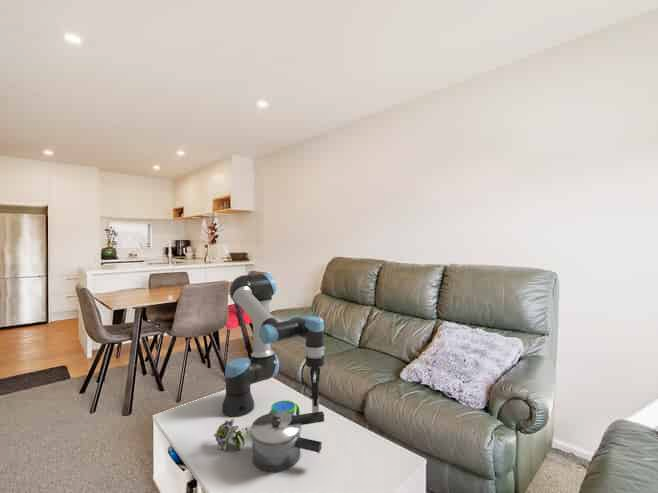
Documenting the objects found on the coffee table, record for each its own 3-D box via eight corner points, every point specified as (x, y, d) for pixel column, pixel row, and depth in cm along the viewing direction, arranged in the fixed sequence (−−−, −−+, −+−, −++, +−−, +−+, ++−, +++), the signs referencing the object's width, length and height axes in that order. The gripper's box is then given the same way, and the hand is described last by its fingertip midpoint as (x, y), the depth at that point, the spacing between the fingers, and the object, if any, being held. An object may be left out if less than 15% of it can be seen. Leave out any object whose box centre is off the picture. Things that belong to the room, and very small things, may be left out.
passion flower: (221, 462, 132) (205, 435, 134) (241, 442, 141) (226, 418, 143) (236, 456, 126) (219, 428, 128) (255, 436, 135) (239, 410, 137)
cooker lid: (251, 448, 116) (251, 437, 115) (250, 420, 134) (250, 410, 134) (329, 435, 123) (329, 424, 123) (318, 410, 141) (317, 400, 141)
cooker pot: (268, 437, 139) (267, 414, 139) (328, 451, 130) (328, 426, 129) (242, 465, 122) (242, 438, 122) (310, 484, 113) (310, 455, 112)
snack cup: (294, 417, 154) (293, 396, 154) (305, 428, 145) (305, 405, 145) (262, 428, 145) (261, 405, 145) (271, 441, 137) (271, 416, 136)
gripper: (323, 361, 130) (324, 420, 130) (324, 349, 143) (324, 404, 144) (304, 361, 130) (305, 421, 130) (306, 350, 143) (307, 404, 144)
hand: (315, 412), depth 137 cm, fingers closed
